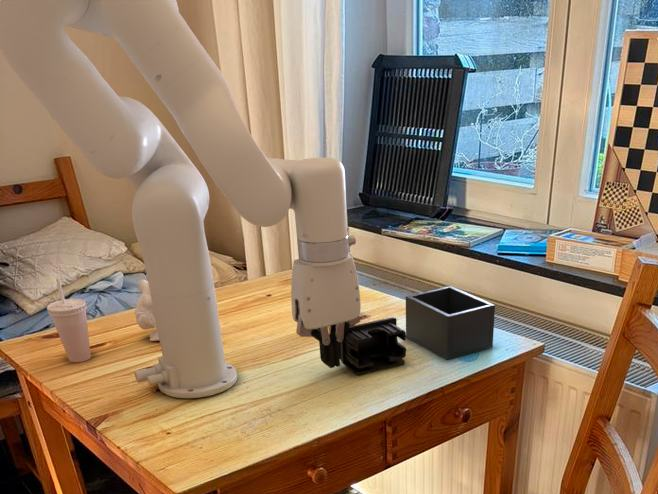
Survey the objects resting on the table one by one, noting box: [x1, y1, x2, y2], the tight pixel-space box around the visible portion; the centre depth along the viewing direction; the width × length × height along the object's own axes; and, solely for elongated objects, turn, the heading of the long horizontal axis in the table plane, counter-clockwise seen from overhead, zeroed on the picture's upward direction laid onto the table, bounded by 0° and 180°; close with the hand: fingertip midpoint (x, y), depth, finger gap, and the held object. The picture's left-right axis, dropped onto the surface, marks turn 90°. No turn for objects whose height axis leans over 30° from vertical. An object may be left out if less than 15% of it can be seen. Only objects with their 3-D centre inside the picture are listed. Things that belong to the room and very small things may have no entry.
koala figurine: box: [134, 279, 160, 342], centre depth 135 cm, size 8×7×12 cm
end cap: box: [340, 316, 407, 377], centre depth 123 cm, size 10×7×7 cm
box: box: [405, 285, 496, 361], centre depth 129 cm, size 10×13×8 cm
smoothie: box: [46, 277, 92, 363], centre depth 128 cm, size 6×6×14 cm
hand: (331, 364), depth 121 cm, fingers closed
